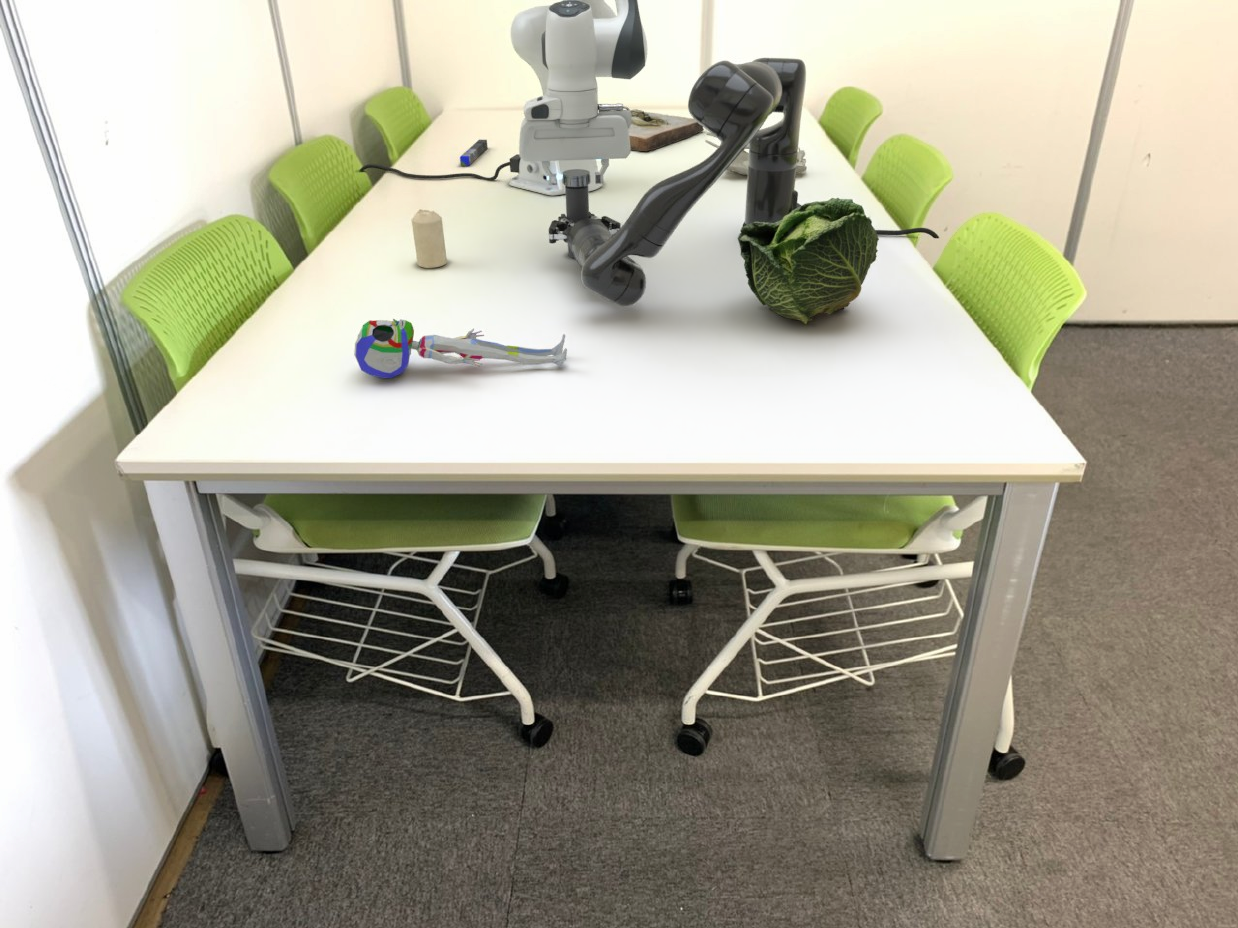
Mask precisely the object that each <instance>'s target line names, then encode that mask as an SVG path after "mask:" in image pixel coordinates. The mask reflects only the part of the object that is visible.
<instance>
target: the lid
mask: <svg viewBox="0 0 1238 928" xmlns="http://www.w3.org/2000/svg"><path fill="white" fill-rule="evenodd" d="M562 181H563V184H564V185H565V186H569V187H582V186H586V185H589V184H590V183H591V181H590V172H589V171H587V170H583V169H572V170H567V171H564V172H563V176H562Z"/></svg>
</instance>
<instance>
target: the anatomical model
mask: <svg viewBox="0 0 1238 928" xmlns="http://www.w3.org/2000/svg"><path fill="white" fill-rule="evenodd" d="M705 135H706V136H710V137H714V138H717V137H715V136H714V135H713V134H712V133H710V132H709V131H708V132H706V134H705ZM717 139H718V138H717ZM705 143H707V145H710V146H712V147H714V148H716V149H717V148H718V147H719V146H720V145H719V144H716V143H714V142H712V141H710V140H707V139H705ZM749 144H750V142H749V143H748V145H747V146H746V147H745V148H744V149H743V151H742V152H741V153H740V154H739V155H738V156H737V158H736V159H735V160H734V161H733V162H732V163H731V165H730V166H729V167H728V168H727V169H726V171H729V172H736V173H737V174H739V175H742V176H748V160H749V151H746V150H749ZM805 156H806V152H805V150H801V148H800V147H798V153H797V164H796V174H798V173H803V172H805V171H807V170H808V168H807V165H806V164H807V159H806V158H805Z"/></svg>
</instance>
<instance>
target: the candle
mask: <svg viewBox="0 0 1238 928" xmlns="http://www.w3.org/2000/svg"><path fill="white" fill-rule="evenodd" d="M411 227H412V234H413V241H414V247H415V254H416V261H417V262H416V263H417V266H419V267H421V268H425V269H432V268H439V267H442V266H445V265H446V264H447V262H448V259H447V250H446V243H445V234H444V226H443V218H442V216H441V215H440V214H439V213H437V212H435V211H434V210H429V209H419V210H417V212H416V213H415V214H414V215H413V216H412V218H411Z"/></svg>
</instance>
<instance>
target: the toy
mask: <svg viewBox="0 0 1238 928" xmlns="http://www.w3.org/2000/svg"><path fill="white" fill-rule="evenodd" d="M474 331H475V328H472V329H471V330H469V331H468V332H467V333H466V334H465V335H463V336H458V337H449V336H448V337H447V336H442V335H439V334H428V335H423V336H421V338H420V339H419V341H417V340H414V336H415V329H414V326H413V324H412V322H410V321H408V320H407V319H399V320H397V319H395V318H392V320H387V319H379V320H368V321H367V322H365V323H364V324H362V326H361V329H360V331H359V333H358V334H357V338H356V340H355V342H354V354H353V355H354V357H355V359H356V362H357V364H358V366H359V369H360V370H361V372H364V373H366V374H367V375H370V376H373V377H377V378H382V379H383V378H384V379H392V378H394V377H396V376H398V375H400V374H401V375H402V374H403V372H404V371H405V370H406V368H407V367H408V366H409V364H410V357H411V355H412V350H415V351H417V353H418V356H419V357H421V358H422V359H430V360H434V361H438V362H442V363H444V364H449V365H458V364H459V365H461V364H465V365H471V366H477V367H479V368H480V367H481V366H482V365H483V363H482V362H478V361H480V360H482V359H487V360H488V359H489V360H503V361H509V362H514V363H517V364H520V365H528V366H529V365H542V364H550V363H553V364H555V365H557V366H559V367H562V366H563V364H564V362H565V361H566V360H567V357H568V355H567V353H568V348H566V347H565V348H564V345H565V340H566V334H565V333H563V334H562V338H561V340H560V341H559V343H558V344H556V345H555V346H554V347H552V348H533V347H532V348H531V347H523V346H518V345H517V346H516V345H504V344H501V343H498V342H494V341H488V340H482V339H478V338H479V337H480V338H481V337H485V334H480V333H482V332H483V331H482V330H479V331H476V332H474ZM563 349H564V350H563ZM453 353H455V354H457V355H459V357H458V356H455V355H448V354H453ZM445 354H447V355H445Z"/></svg>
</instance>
